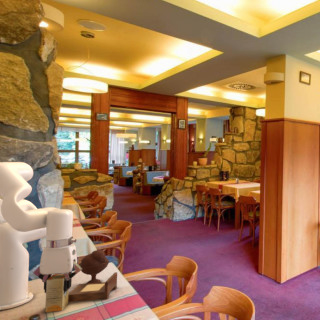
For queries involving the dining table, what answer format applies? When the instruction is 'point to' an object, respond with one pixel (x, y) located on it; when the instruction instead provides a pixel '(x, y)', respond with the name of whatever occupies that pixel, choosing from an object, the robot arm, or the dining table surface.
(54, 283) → the shoe polish box
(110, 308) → the dining table surface
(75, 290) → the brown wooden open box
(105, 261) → the ice cream bowl
